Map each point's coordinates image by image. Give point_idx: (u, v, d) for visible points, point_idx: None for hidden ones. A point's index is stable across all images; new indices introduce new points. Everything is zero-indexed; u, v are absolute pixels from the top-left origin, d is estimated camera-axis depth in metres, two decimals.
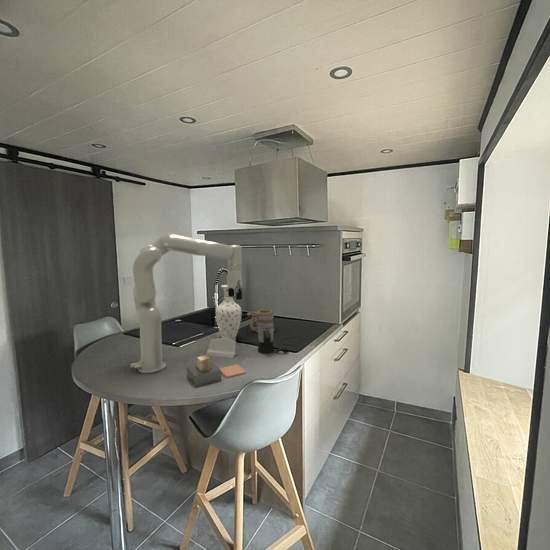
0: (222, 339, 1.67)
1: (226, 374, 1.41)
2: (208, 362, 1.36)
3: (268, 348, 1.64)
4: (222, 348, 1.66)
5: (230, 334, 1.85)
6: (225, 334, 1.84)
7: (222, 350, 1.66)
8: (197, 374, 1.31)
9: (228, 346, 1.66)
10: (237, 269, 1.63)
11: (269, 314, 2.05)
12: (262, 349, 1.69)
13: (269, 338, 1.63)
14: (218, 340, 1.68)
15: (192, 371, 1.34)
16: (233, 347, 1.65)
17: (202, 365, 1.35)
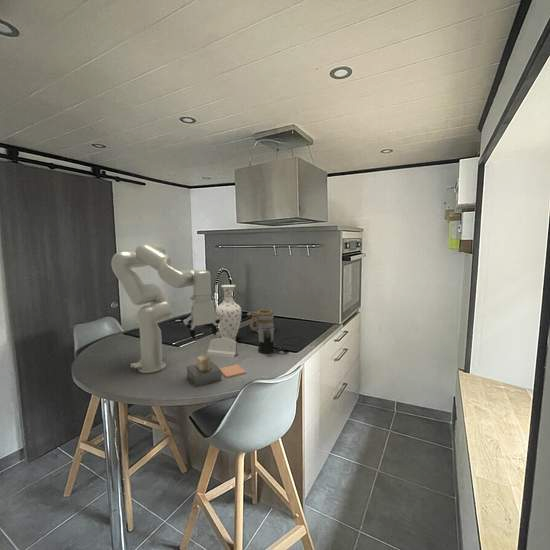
0: (222, 339, 1.68)
1: (226, 374, 1.41)
2: (208, 362, 1.36)
3: (268, 348, 1.64)
4: (222, 348, 1.66)
5: (230, 334, 1.85)
6: (225, 334, 1.84)
7: (222, 350, 1.66)
8: (197, 374, 1.31)
9: (228, 346, 1.66)
10: None
11: (269, 314, 2.05)
12: (262, 349, 1.69)
13: (269, 338, 1.63)
14: (218, 340, 1.68)
15: (192, 371, 1.34)
16: (233, 347, 1.65)
17: (202, 365, 1.35)
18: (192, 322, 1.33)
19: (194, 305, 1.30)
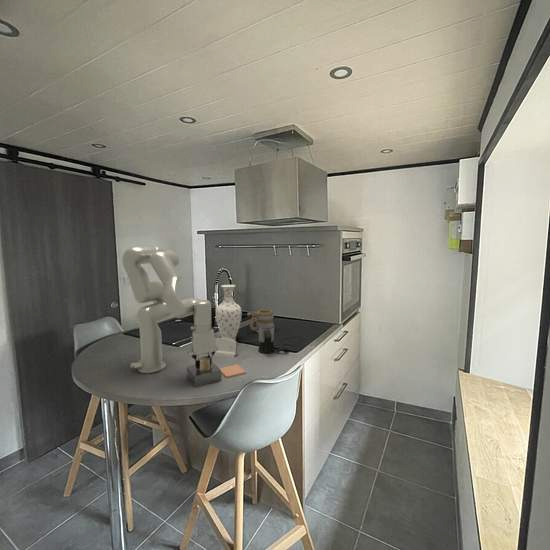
0: (223, 339, 1.68)
1: (226, 374, 1.41)
2: (208, 362, 1.36)
3: (269, 348, 1.64)
4: (223, 348, 1.67)
5: (230, 334, 1.85)
6: (225, 334, 1.84)
7: (223, 350, 1.66)
8: (197, 374, 1.31)
9: (229, 346, 1.66)
10: None
11: (269, 314, 2.05)
12: (263, 349, 1.69)
13: (270, 338, 1.64)
14: (219, 340, 1.68)
15: (192, 371, 1.34)
16: (233, 347, 1.65)
17: (202, 365, 1.35)
18: None
19: (194, 335, 1.32)
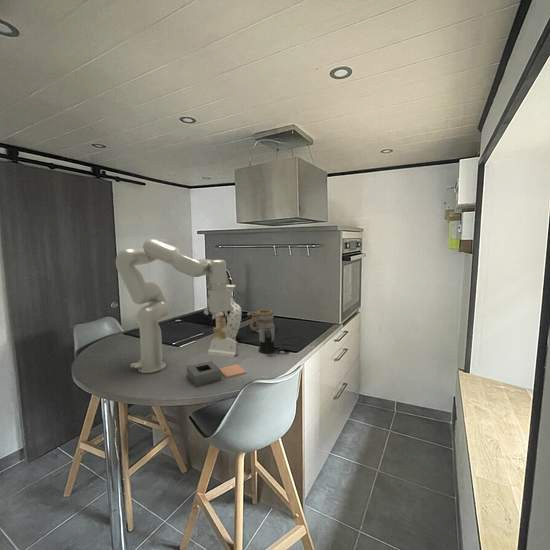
0: (223, 339, 1.68)
1: (226, 374, 1.41)
2: (224, 321, 1.38)
3: (269, 348, 1.64)
4: (223, 348, 1.67)
5: (230, 334, 1.85)
6: None
7: (223, 350, 1.66)
8: (197, 374, 1.31)
9: (229, 346, 1.66)
10: None
11: (269, 314, 2.05)
12: (263, 349, 1.69)
13: (270, 338, 1.64)
14: (219, 340, 1.68)
15: (192, 371, 1.34)
16: (234, 347, 1.65)
17: (218, 324, 1.36)
18: None
19: (210, 293, 1.33)
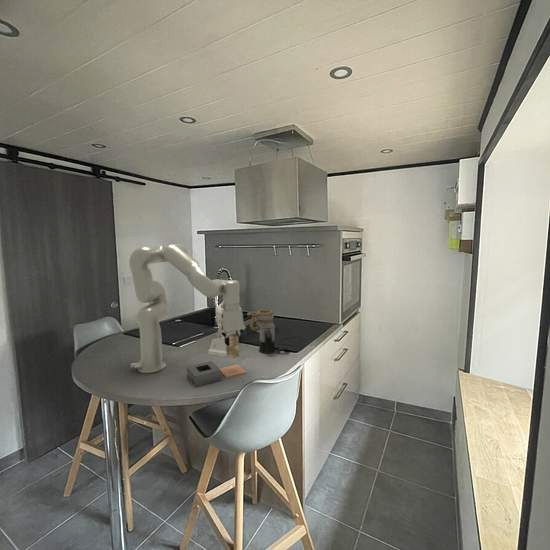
0: (223, 339, 1.68)
1: (226, 374, 1.41)
2: (237, 339, 1.42)
3: (269, 348, 1.64)
4: (223, 348, 1.67)
5: None
6: None
7: (223, 350, 1.66)
8: (197, 374, 1.31)
9: None
10: None
11: (269, 314, 2.05)
12: (263, 349, 1.69)
13: (270, 338, 1.64)
14: (220, 340, 1.68)
15: (192, 371, 1.34)
16: None
17: (232, 342, 1.41)
18: (224, 330, 1.42)
19: (224, 313, 1.38)
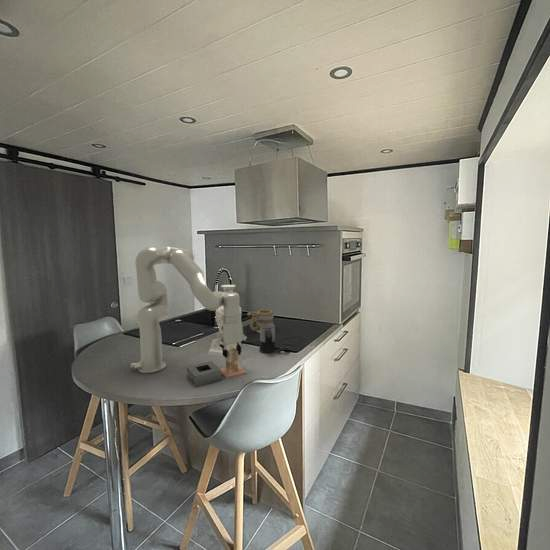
0: None
1: (226, 374, 1.41)
2: (236, 354, 1.43)
3: (270, 348, 1.64)
4: None
5: None
6: None
7: None
8: (197, 374, 1.31)
9: (229, 346, 1.66)
10: None
11: (269, 314, 2.05)
12: (264, 349, 1.69)
13: (271, 338, 1.64)
14: None
15: (192, 371, 1.34)
16: (234, 347, 1.65)
17: (231, 357, 1.42)
18: None
19: (224, 325, 1.39)
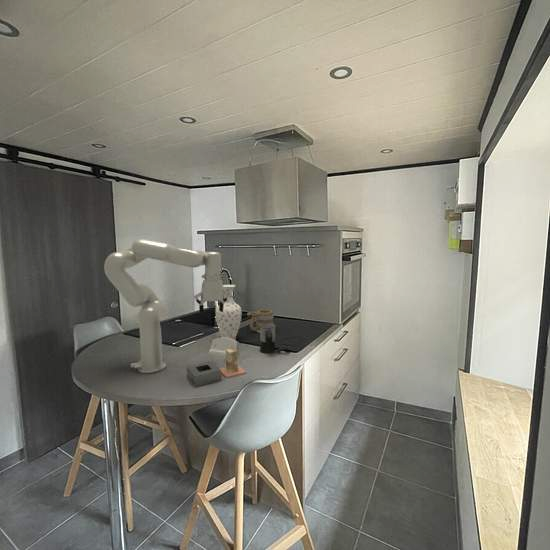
0: (224, 339, 1.68)
1: (226, 374, 1.41)
2: (236, 354, 1.43)
3: (270, 348, 1.65)
4: (224, 348, 1.67)
5: (230, 334, 1.85)
6: (225, 334, 1.84)
7: (224, 350, 1.67)
8: (197, 374, 1.31)
9: (230, 346, 1.66)
10: None
11: (269, 314, 2.05)
12: (264, 349, 1.70)
13: (271, 338, 1.64)
14: (220, 339, 1.69)
15: (192, 371, 1.34)
16: (234, 347, 1.65)
17: (231, 357, 1.42)
18: (202, 298, 1.46)
19: (204, 283, 1.42)
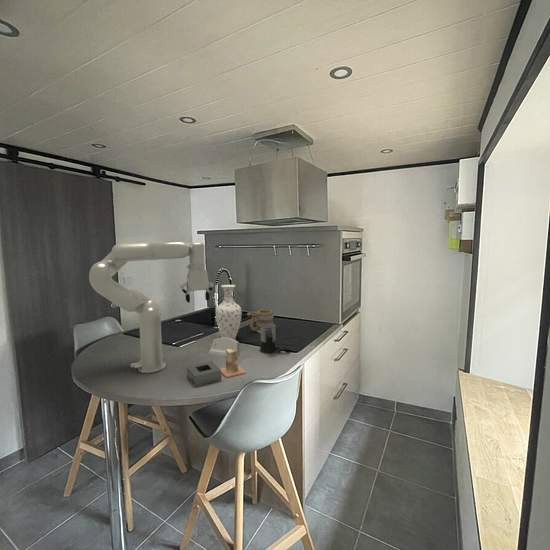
0: (224, 339, 1.68)
1: (226, 374, 1.41)
2: (236, 354, 1.43)
3: (270, 348, 1.65)
4: (224, 348, 1.67)
5: (230, 334, 1.85)
6: (225, 334, 1.84)
7: (224, 350, 1.67)
8: (197, 374, 1.31)
9: (230, 346, 1.66)
10: None
11: (269, 314, 2.05)
12: (264, 349, 1.70)
13: (271, 338, 1.64)
14: (221, 339, 1.69)
15: (192, 371, 1.34)
16: (235, 347, 1.65)
17: (231, 357, 1.42)
18: (187, 288, 1.50)
19: (189, 272, 1.47)
